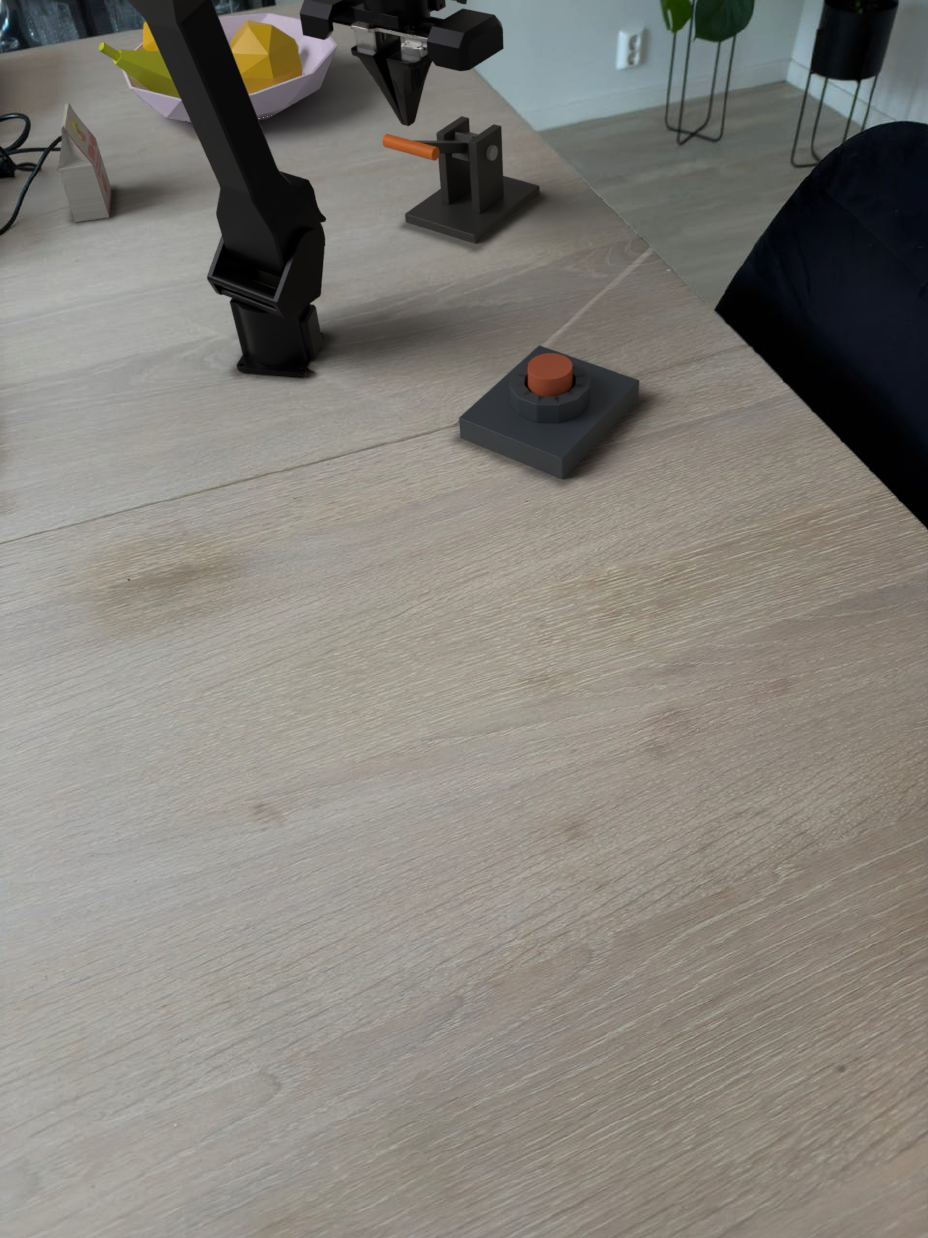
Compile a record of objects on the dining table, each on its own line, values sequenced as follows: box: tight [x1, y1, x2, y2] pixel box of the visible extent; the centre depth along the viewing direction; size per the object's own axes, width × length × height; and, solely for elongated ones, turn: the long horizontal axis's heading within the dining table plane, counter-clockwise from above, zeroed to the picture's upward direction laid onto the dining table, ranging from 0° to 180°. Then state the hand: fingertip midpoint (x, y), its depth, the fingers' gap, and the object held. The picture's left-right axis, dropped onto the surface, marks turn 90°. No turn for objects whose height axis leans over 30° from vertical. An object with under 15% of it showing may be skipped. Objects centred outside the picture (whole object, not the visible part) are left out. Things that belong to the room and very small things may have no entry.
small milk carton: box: [57, 101, 113, 223], centre depth 119 cm, size 4×7×10 cm, turn 10°
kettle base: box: [404, 115, 541, 245], centre depth 113 cm, size 12×9×9 cm
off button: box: [528, 353, 573, 396], centre depth 88 cm, size 4×4×2 cm
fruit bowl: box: [97, 12, 338, 124], centre depth 135 cm, size 28×27×11 cm
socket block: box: [458, 344, 640, 480], centre depth 90 cm, size 12×10×4 cm
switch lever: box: [381, 131, 479, 162], centre depth 108 cm, size 12×6×2 cm, turn 144°
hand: (408, 123), depth 102 cm, fingers closed
